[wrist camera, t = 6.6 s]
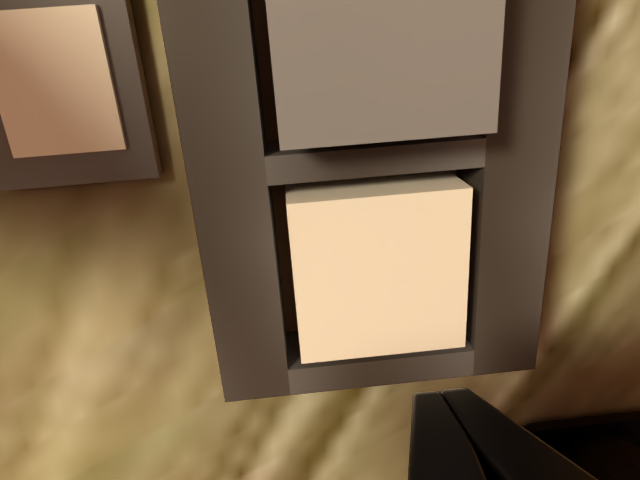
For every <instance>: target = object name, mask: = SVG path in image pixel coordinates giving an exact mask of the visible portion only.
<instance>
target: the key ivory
mask: <svg viewBox="0 0 640 480" xmlns="http://www.w3.org/2000/svg"><path fill="white" fill-rule="evenodd" d="M285 193H286V209H287V219H288V230H289V240H290V250H291V261H292V271H293V281H294V292H295V302H296V312H297V323H298V333H299V343H300V353H301V364H305V363H315V362H325V361H334V360H344V359H353V358H363V357H373V356H382V355H392V354H401V353H411V352H421V351H430V350H440V349H450V348H459V347H465V341H466V321H467V300H468V279H469V259H470V238H471V217H472V197H473V188H472V187H471V186H469V185H468V184H467V183H465V182H464V181H462V180H461V179H460V178H458V177H457V176H455V175H454V174H453V173H451V172H450V171H448V170H446V171H435V172H423V173H411V174H400V175H388V176H377V177H365V178H353V179H342V180H330V181H318V182H307V183H295V184H285Z"/></svg>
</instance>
